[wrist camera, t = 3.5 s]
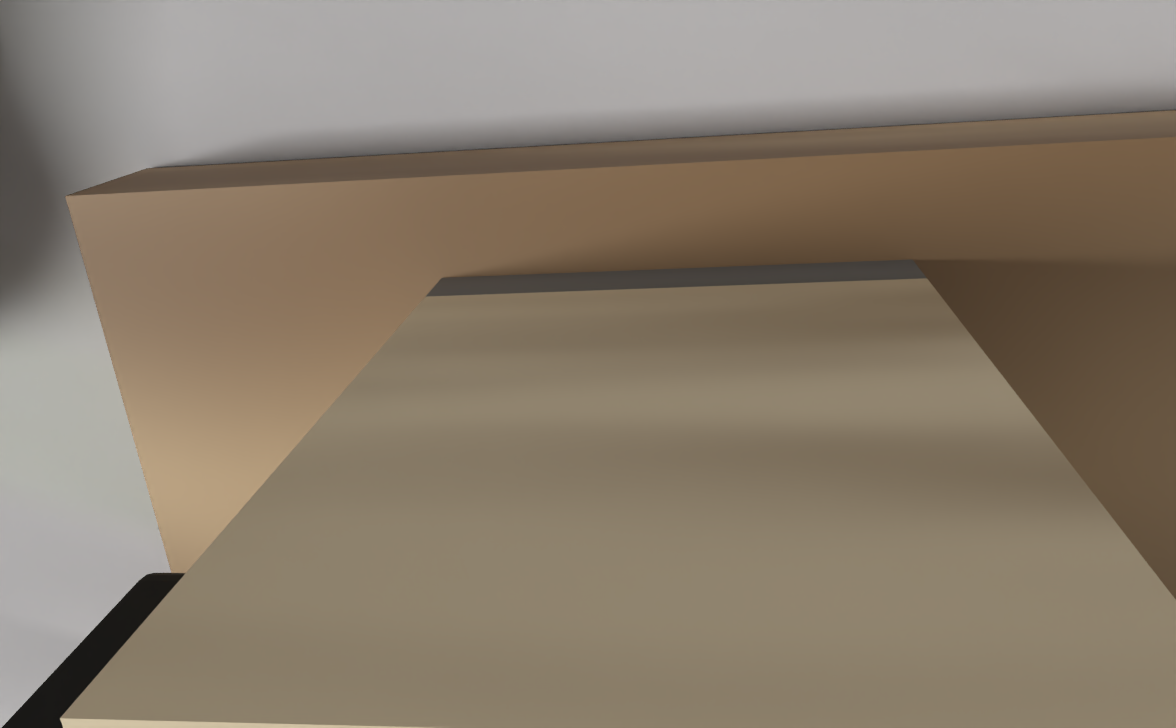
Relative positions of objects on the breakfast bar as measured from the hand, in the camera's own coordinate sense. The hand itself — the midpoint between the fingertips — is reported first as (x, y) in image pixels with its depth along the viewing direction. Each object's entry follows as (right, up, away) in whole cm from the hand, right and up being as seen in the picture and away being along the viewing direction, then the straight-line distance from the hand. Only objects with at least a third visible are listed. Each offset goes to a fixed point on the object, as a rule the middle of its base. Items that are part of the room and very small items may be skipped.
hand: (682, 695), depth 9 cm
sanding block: (0, 0, +1) cm, 1 cm away
